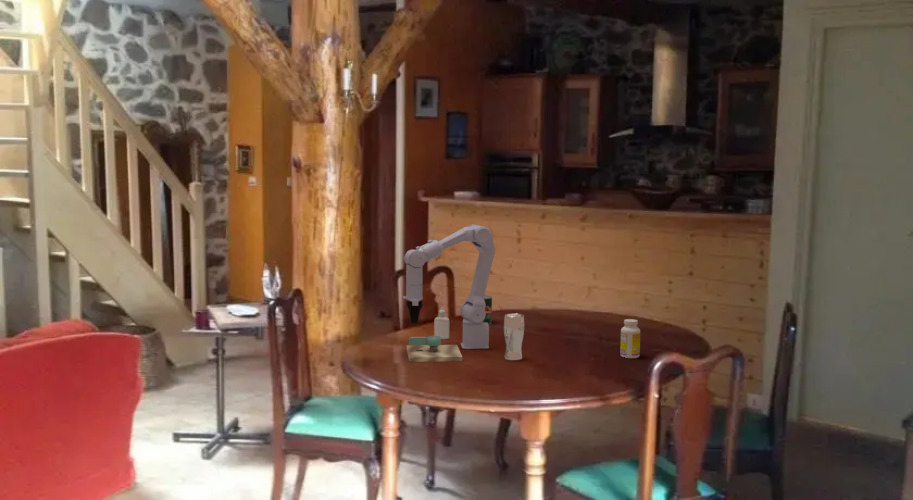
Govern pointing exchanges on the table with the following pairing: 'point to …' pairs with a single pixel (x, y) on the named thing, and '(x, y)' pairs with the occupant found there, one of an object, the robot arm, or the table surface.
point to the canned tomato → (488, 309)
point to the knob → (425, 340)
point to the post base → (433, 353)
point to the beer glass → (513, 335)
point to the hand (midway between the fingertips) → (414, 322)
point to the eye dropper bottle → (441, 325)
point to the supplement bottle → (630, 339)
